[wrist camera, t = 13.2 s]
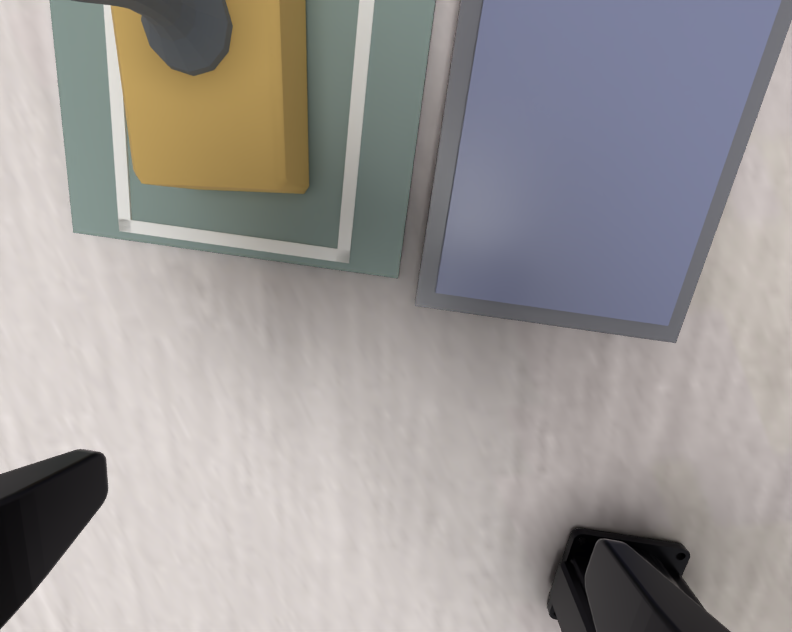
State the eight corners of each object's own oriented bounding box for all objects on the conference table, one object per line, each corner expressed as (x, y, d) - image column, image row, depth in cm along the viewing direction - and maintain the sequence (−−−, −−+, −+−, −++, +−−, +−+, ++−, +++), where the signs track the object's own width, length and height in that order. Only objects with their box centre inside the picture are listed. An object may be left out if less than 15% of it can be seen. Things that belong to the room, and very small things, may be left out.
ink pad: (776, -7, 14) (816, -32, 13) (659, 334, 18) (680, 345, 17) (467, -45, 15) (472, -73, 13) (415, 300, 18) (415, 307, 17)
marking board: (455, -147, 14) (456, -157, 13) (398, 277, 18) (397, 278, 18) (36, -196, 14) (25, -207, 14) (78, 232, 19) (71, 232, 18)
